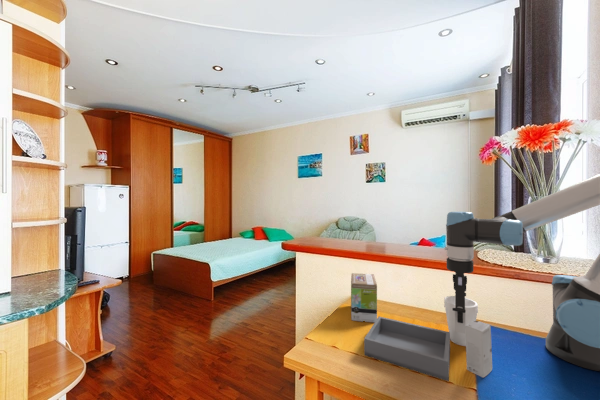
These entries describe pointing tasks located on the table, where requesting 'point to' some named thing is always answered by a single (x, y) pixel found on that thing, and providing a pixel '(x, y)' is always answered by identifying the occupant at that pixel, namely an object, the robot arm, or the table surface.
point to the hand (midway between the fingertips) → (459, 322)
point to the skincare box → (478, 348)
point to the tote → (410, 346)
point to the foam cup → (449, 304)
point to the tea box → (363, 297)
